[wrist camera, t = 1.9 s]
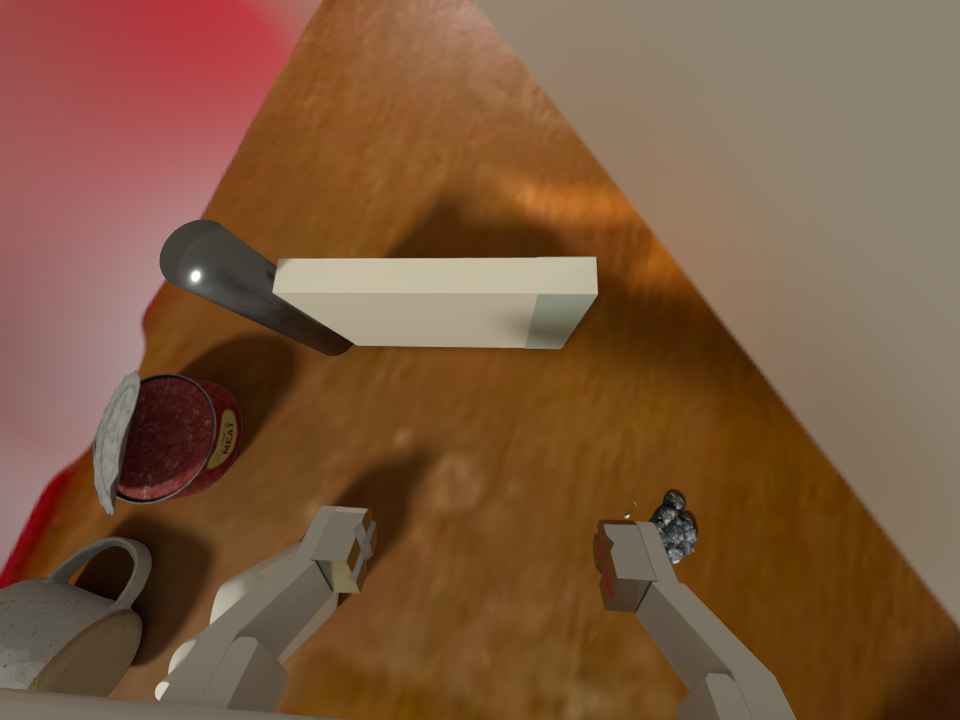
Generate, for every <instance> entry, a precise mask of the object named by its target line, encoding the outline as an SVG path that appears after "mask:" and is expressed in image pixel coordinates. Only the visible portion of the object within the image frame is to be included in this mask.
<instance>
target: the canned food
mask: <svg viewBox="0 0 960 720" xmlns="http://www.w3.org/2000/svg"><path fill="white" fill-rule="evenodd" d="M242 429H243V423H242V415H241V412H240V409H239V406H238V403H237V402H236V400H235V399H234V397H233V395H232V394H231V393H230V392H229V391H228V390H227V389H226V388H224V387H222V386H221V385H219V384H217V383H214V382H211V381H208V380H202V379H197V378H192V377H186V376H182V375H178V374H159V375H154V376H151V377H147V378H144V379H142V380H140V374H139V373H137V372H136V371H134V372H133V373H131V374H129V375H127V376H125V377H124V379H123V380H122V382H121V383H120V384H119V385H118V387H117V388H116V389H115V390H114V392H113V394H112V397H111V399H110V401H109V403H108V405H107V406H106V408H105V410H104V413H103V417H102V419H101V421H100V424H99V426H98V429H97V432H96V435H95V441H94V447H93V458H94V459H93V463H94V470H95V483H94V485H95V487H96V489H97V492H98V495H99V501H100V504H101V505H102V506H103V507H104V508H105V510H106V513H107V514H111V515H113V513H114V511H115V508H114V506H115V501H116V498H118V499H120V500H123V501H125V502H128V503H134V504H151V503H156V502H160V501H165V500H170V499H175V498H181V497H186V496H190V495H193V494H196V493H199V492H201V491H203V490H205V489H207V488H208V487H210V486H211V485H212V484H214V483H215V482H216V481H218V480H219V479H220V478H221V477H222V476H223V474H224V473H225V472H226V471H227V470H228V468H229V467H230V465H231V464H232V462H233V461H234V459H235V457H236V454H237V452H238V450H239V447H240V443H241V439H242Z"/></svg>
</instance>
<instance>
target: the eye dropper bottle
mask: <svg viewBox="0 0 960 720" xmlns="http://www.w3.org/2000/svg"><path fill="white" fill-rule="evenodd" d="M301 542H302V541H301ZM301 542H299V543H297V544H294V545H292V546H291V547H289V548H287V549H285V550H283V551H281V552H279V553H277V554H275V555H273V556H271V557H269V558H268V559H266V560H264V561H262V562H260V563H258V564H256V565H254V566H252V567H250V568H249V569H247V570H245V571H243V572H241V573H239V574H237V575H236V576H234V577H232V578H230V579H229V580H227V581H226V582H225V583H224V584H223V585H222V586H221V587H220V589H219V591H218V593H217V595H216V598H215V601H214V605H213V609H212V613H211V619H210V624H212V623H213V622H214V621H215V620H216V619H218V618H219V617H220V616H221V615H222V614H224V613H225V612H226V611H227V610H228V609H229V608H231V607H232V606H233V605H234V604H235V603H237V602H238V601H239V600H240V599H241V598H242V597H244V596H245V595H246V594H247V593H248V592H250V591H251V590H252V589H253V588H254V587H255V586H257V585H258V584H259V583H260V582H261V581H263V580H264V579H265V578H266V577H267V576H268V575H270V574H271V573H272V572H273V571H274V570H276V569H277V568H278V567H279V566H280V565H281V564H283V563H284V562H285V561H286V560H287V559H293V557H294V556H295V554H296V552H297V550H298V548H299V546H300V544H301ZM332 593H333V595H332V596H331V597H330V598H329V599H328V600H327V601H326V603H325V604H324V605H323V606H322V607H321V608H320V610H319V611H318V612H317V613H316V614H315V615H314V616H313V618H312V619H311V620H310V621H309V622H308V623H307V625H306V626H305V627H304V628H303V629H302V630H301V631H300V633H299V634H298V635H297V636H296V637H295V638H294V640H293V641H292V642H291V643H290V644H289V645H288V646H287V648H286V649H285V650H284V651H283V652H282V653H281V655H280V656H279V657H278V658H277V659H276V660H277V661H278V662H279V663H280V664H281V665H282V666H283V665H284V664H285V663H286V662H287V661H288V660H289V659H290V658H291V657H292V656H293V655H294V654H295V653H296V652H297V651H298V650H299V649H300V648H301V647H302V646H303V645H304V644H305V643H306V642H307V641H308V640H309V639H310V638H311V636H312V635H313V634H314V633H315V632H316V631H317V630H318V629H319V628H320V627H321V626H322V625H323V624H324V623H325V622H326V621H327V620H328V619H329V618H330V617H331V616H332V614H333V613H334V612H335V610H336V608H337V605H338V597H339V593H338V592H332ZM204 630H205V629H204ZM202 631H203V630H202ZM202 631H201V632H199V633H198V634H196V635H195V636H193V637H192V638H190V639H189V640H187V641H185V642H184V643H183V644H181V646H179V648H178V649H177V650H176V651H175V653H174V655H173V657H172V659H171V662H170V666H169V674H168V676H167V677H166V678H164V679H163V680H162V681H161V682H160V683H159V684H158V686H157V687H156V690H155V696H156V698H157V699H158V700H160V698H161V697H162V695H163V693H164V692H165V690H166V689H167V687H168V685H169V684H170V682H171V681H172V679H173V677H174V676H175V674H176V673H177V671H178V669H179V668H180V666H181V665H182V663H183V661H184V660H185V658H186V657H187V655H188V653H189V652H190V650H191V649H192V647H193V645H194V644H195V642H196V641H197V639H198V638H199V636H200V634H201V633H202Z"/></svg>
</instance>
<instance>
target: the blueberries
mask: <svg viewBox="0 0 960 720" xmlns="http://www.w3.org/2000/svg"><path fill="white" fill-rule="evenodd" d="M634 503H635V501H634ZM686 505H687V504H686V503H685V501H684V500H683V499H682V498H681V497H680V496H678V495H677V494H676V493H674V492H671V491H669V492H667V493H666V494H665V496H664V499H663V504H662V505H661V506H660V507H659V508H658V509H657V510H656V511H655V512H654V515H653V517H652V518H651V519H650V520H649V521H648V522H652V523H654V525H655V526H656V528H657V530H658V533H659V535H660V538H661V540H662V543H663V545H664V548H665V550H666V553H667V555H668V558H669V560H670V563H671V565H672V564H676V563H678V562H679V561H680V560H681V559H682V558H684V557H685V556H686V555H687V554H691V553H692V552H694V549H693V544H694V543H695V542H696V540H697V535H696V530H695V527H694V523H693V521H692V520H691V518H690V516H689V515H687V514H683V513H684V510H685V508H686ZM635 507H636V503H635ZM633 510H634V509H633ZM629 516H630V515H629V514H628V515H626V516H625V518H629Z"/></svg>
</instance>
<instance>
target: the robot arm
mask: <svg viewBox="0 0 960 720" xmlns="http://www.w3.org/2000/svg"><path fill="white" fill-rule="evenodd" d="M372 517H373V512H372V509H371V508H357V507H340V506H322V507H321V508H320V509H319V510H318V511H317V513H316V515H315V517H314V519H313V521H312V523H311V525H310V527H309V528H308V530H307V532H306V534H305V536H304V538H303V540H302V542H301V544H300V546H299V548H298V550H297V552H296V554H295V556H294V557H293V559H287V560H286V561H285V562H284V563H283V564H281V565H280V566H279V567H278V568H277V569H276V570H274V571H273V572H272V573H271V574H270V575H268V576H267V577H266V578H265V579H264V580H263V581H261V582H260V583H259V584H258V585H257V586H255V587H254V588H253V589H252V590H251V591H250V592H248V593H247V594H246V595H245V596H244V597H242V598H241V599H240V600H239V601H238V602H237V603H235V604H234V605H233V606H232V607H231V608H229V609H228V610H227V611H226V612H225V613H224V614H222V615H221V616H220V617H219V618H218V619H216V620H215V621H214V622H213V623H212V624H210V625H209V626H208V627H207V628H206V629H205V630H203V631H202V633H201V634H200V636H199V638H198V639H197V641H196V642H195V644H194V645H193V647H192V649H191V650H190V652H189V653H188V655H187V657H186V658H185V660H184V661H183V663H182V665H181V666H180V668H179V669H178V671H177V673H176V674H175V676H174V677H173V679H172V681H171V682H170V684H169V685H168V687H167V689H166V690H165V692H164V693H163V695H162V697H161V698H160V700H159V701H158V702H152V701H141V700H131V699H120V698H109V697H98V696H87V695H77V694H66V693H55V692H44V691H33V690H23V689H12V688H1V687H0V720H346V719H335V718H325V717H314V716H303V715H292V714H281V713H275V711H276V708H277V706H278V703H279V701H280V698H281V695H282V693H283V690H284V688H285V685H286V683H287V680H288V678H289V677H288V673H287V671H286V670H285V668H284V667H283V666H282V665H281V664H280V663H279V662H278V661H277V660H276V659H277V658H278V657H279V656H280V655H281V653H282V652H283V651H284V650H285V649H286V648H287V646H288V645H289V644H290V643H291V642H292V641H293V640H294V638H295V637H296V636H297V635H298V634H299V633H300V631H301V630H302V629H303V628H304V627H305V626H306V625H307V623H308V622H309V621H310V620H311V619H312V618H313V616H314V615H315V614H316V613H317V612H318V611H319V610H320V608H321V607H322V606H323V605H324V604H325V603H326V601H327V600H328V599H329V598H330V597H331V596H332V595H333V593H332V592H338V593H361V590H362V587H363V584H364V581H365V578H366V575H367V572H368V567H367V564H366V561H367V560H368V559H369V558H370V557H371V556H372V555H373V553H374V550H375V547H376V543H377V536H378V528H377V524H376V522H374V521H373V520H372ZM597 528H598V533H596V534H595V535H594V539H593V555H594V562H595V567H596V569H597V570H598V571H599V572H600V573H601V574H602V577H601V580H600V583H599V586H600V590H601V595H602V600H603V604H604V609H605V610H612V611H622V612H633V613H636V614H635V615H636V616H637V618H638V619H639V621H640V622H641V623H642V625H643V626H644V628H645V629H646V630H647V632H648V633H649V635H650V636H651V637H652V639H653V640H654V642H655V643H656V644H657V646H658V647H659V649H660V650H661V651H662V653H663V654H664V656H665V657H666V658H667V660H668V661H669V663H670V664H671V665H672V667H673V668H674V670H675V671H676V672H677V674H678V675H679V677H680V678H681V679H682V681H683V682H684V684H685V685H686V686H687V688H688V689H689V691H690V692H689V693H688V694H687V695H686V696H685V697H684V698H683V699H682V700H681V701H680V702H679V703H678V705H677V707H676V708H675V713H676V717H677V720H796V718H795V716H794V714H793V712H792V710H791V708H790V706H789V704H788V702H787V700H786V698H785V696H784V694H783V692H782V690H781V688H780V686H779V684H778V682H777V680H776V678H775V676H774V675H773V674H772V673H771V672H770V671H769V670H768V669H767V668H766V667H765V666H764V665H763V664H762V663H761V662H760V661H759V660H758V659H757V658H756V657H755V656H754V655H753V654H752V653H751V652H750V651H749V650H748V649H747V648H746V647H745V646H744V645H743V644H742V643H741V641H740V640H739V639H738V638H737V637H736V636H735V635H734V634H733V633H732V632H731V631H730V630H729V629H728V628H727V627H726V626H725V625H724V624H723V623H722V622H721V621H720V620H719V619H718V618H717V617H716V616H715V615H714V614H713V613H712V612H711V611H710V610H709V609H708V608H707V607H706V606H705V605H704V604H703V603H702V602H701V601H700V599H699V598H698V597H697V596H696V595H695V594H694V593H693V592H692V591H691V590H690V589H689V588H688V587H687V586H686V585H685V584H683V583H678V581H677V578H676V576H675V573H674V571H673V568H672V565H671V563H670V560H669V558H668V555H667V553H666V550H665V548H664V545H663V543H662V540H661V538H660V535H659V533H658V530H657V528H656V526H655V525H654V523H652V522H647V521H631V520H599V521H598V524H597Z"/></svg>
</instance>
